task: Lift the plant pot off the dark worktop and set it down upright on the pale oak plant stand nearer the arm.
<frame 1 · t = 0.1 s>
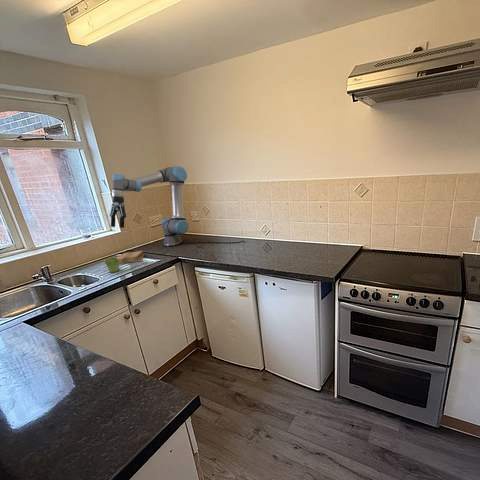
hand: (117, 227, 212), 28 cm above the countertop, tool tilted 20°, fingers open, 13 cm apart
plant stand: (131, 259, 233), on the countertop
plant pot: (114, 271, 210), on the countertop
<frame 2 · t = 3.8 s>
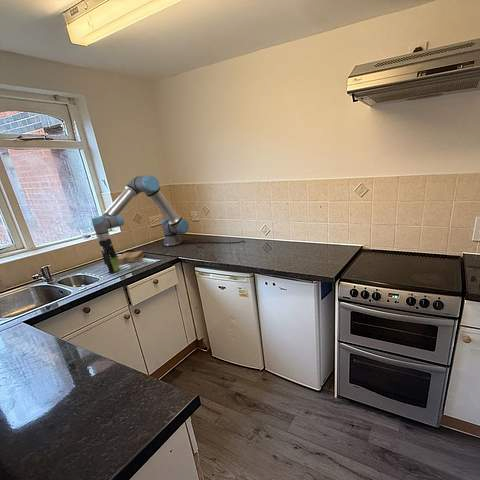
hand: (114, 270, 210), 0 cm above the countertop, tool pointing down, fingers closed on plant pot, 8 cm apart
plant pot: (114, 271, 210), on the countertop, touching gripper
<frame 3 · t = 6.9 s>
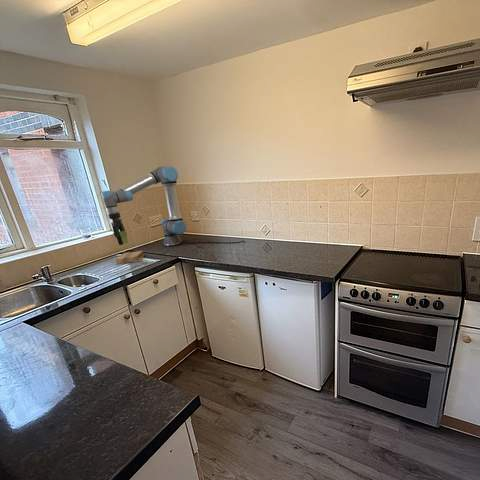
hand: (123, 243, 223), 15 cm above the countertop, tool pointing down, fingers closed on plant pot, 8 cm apart
plant pot: (123, 243, 223), point 14 cm above the countertop, touching gripper
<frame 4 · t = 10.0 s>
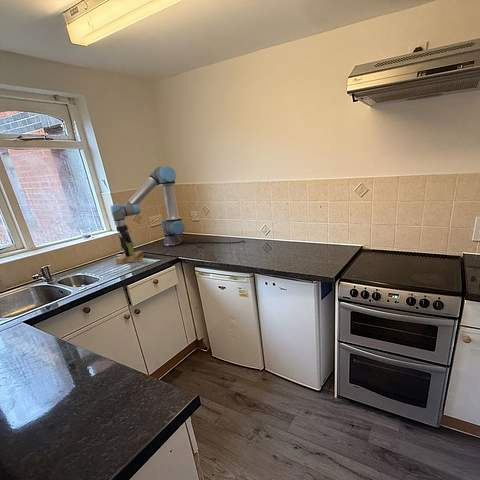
hand: (129, 254, 231), 4 cm above the countertop, tool pointing down, fingers closed on plant pot, 8 cm apart
plant pot: (130, 255, 231), point 4 cm above the countertop, touching gripper
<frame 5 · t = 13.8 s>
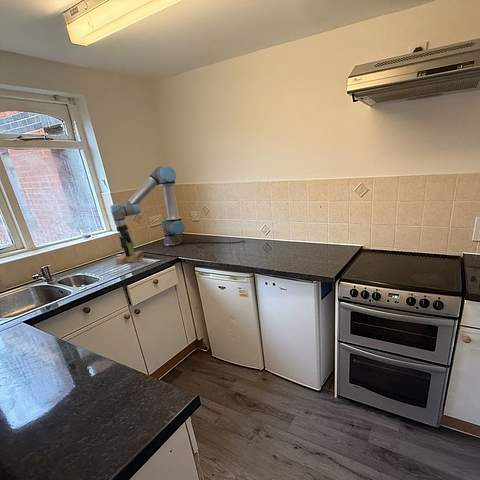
hand: (130, 254, 231), 4 cm above the countertop, tool pointing down, fingers closed on plant pot, 8 cm apart
plant pot: (130, 254, 231), point 4 cm above the countertop, touching gripper
when the fingers open (5 cm above the countertop, at t = 16.8 s): plant pot moves 4 cm, resting on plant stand.
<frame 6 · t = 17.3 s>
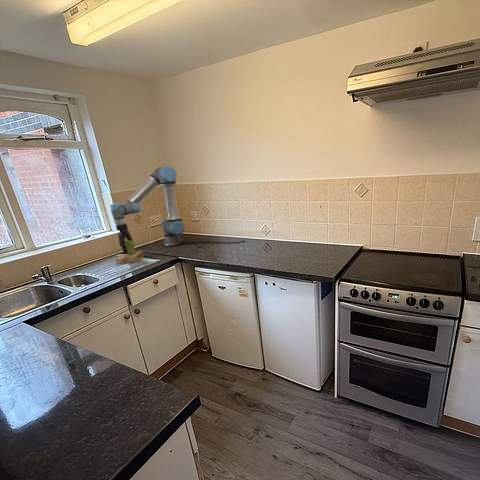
hand: (129, 251, 230), 7 cm above the countertop, tool pointing down, fingers open, 13 cm apart
plant pot: (131, 252, 234), point 5 cm above the countertop, touching gripper, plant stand
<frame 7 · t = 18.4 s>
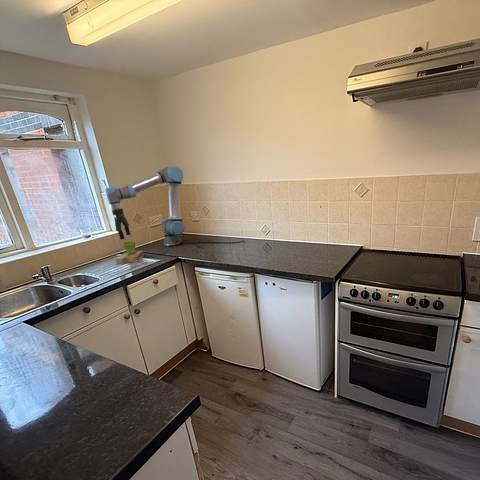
hand: (125, 237, 227), 18 cm above the countertop, tool pointing down, fingers open, 13 cm apart
plant pot: (131, 253, 235), point 4 cm above the countertop, touching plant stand
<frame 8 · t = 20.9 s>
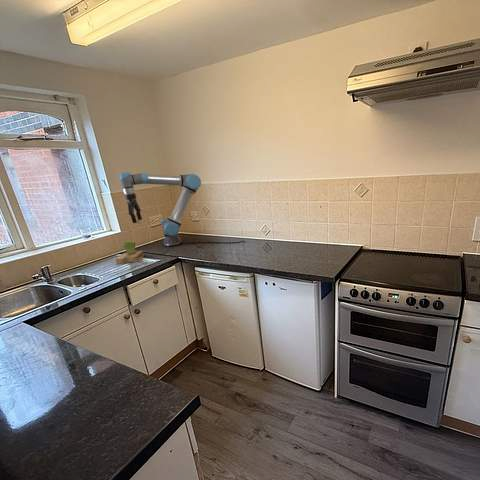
hand: (137, 221, 235), 27 cm above the countertop, tool pointing down, fingers open, 13 cm apart
nothing on the countertop moved.
at the end: plant pot inside the target area on the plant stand (3.8 cm from its centre), point 3.8 cm above the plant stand's base; plant pot tilted 0°; the gripper is holding nothing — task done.
